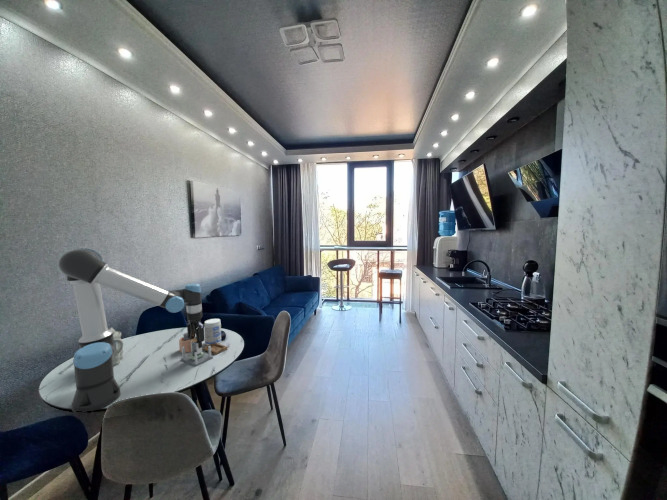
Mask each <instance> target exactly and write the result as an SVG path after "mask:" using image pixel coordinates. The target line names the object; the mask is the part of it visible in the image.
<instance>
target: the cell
mask: <svg viewBox="0 0 667 500" xmlns="http://www.w3.org/2000/svg"><path fill="white" fill-rule="evenodd" d="M191 342H192V352H191V354H192V356H194V353H195V352H197V347H196V342H197V338H196V336H195V337H194V338H192V339H191ZM200 354H201V353H199V354H197V356H198V355H200Z"/></svg>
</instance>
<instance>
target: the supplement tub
mask: <svg viewBox="0 0 667 500" xmlns="http://www.w3.org/2000/svg"><path fill="white" fill-rule="evenodd" d="M203 324H204V339H205V340H204V344H205V345H206V346H208V345H210V344H213V343H218V344H221V342H222V323H221V319H220V318H210V319H207V320H205V321H204V323H203Z"/></svg>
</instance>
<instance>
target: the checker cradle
mask: <svg viewBox="0 0 667 500" xmlns="http://www.w3.org/2000/svg"><path fill="white" fill-rule="evenodd" d="M203 353H204V356H201V357H199V358H197V352H195V353H194V358H195V360H193V359H190V357H189V356H190V355H192V353H191V354H188V355H186V353H185V347H182V352H181V358H180V361H183V362H185V363H187V364H189V365H192V366H194V367H197V366H199V365H202V364H203V363H205V362H208V361H210V360H212V359H213V358H214V356H212V353H211V346H208V352H207V353H208V354H207V353H205V352H203Z"/></svg>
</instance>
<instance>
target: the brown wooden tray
mask: <svg viewBox="0 0 667 500" xmlns="http://www.w3.org/2000/svg"><path fill="white" fill-rule="evenodd" d="M208 346H211V355H215V356H216V355H218V354H221V353H222V352H225V351H227V350H228V346H226V345H224V344H221V343H219V344H218V343H213V344H210V345H208ZM208 346H207V345H206V346H202V351H204V352H207V353H208Z"/></svg>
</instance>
